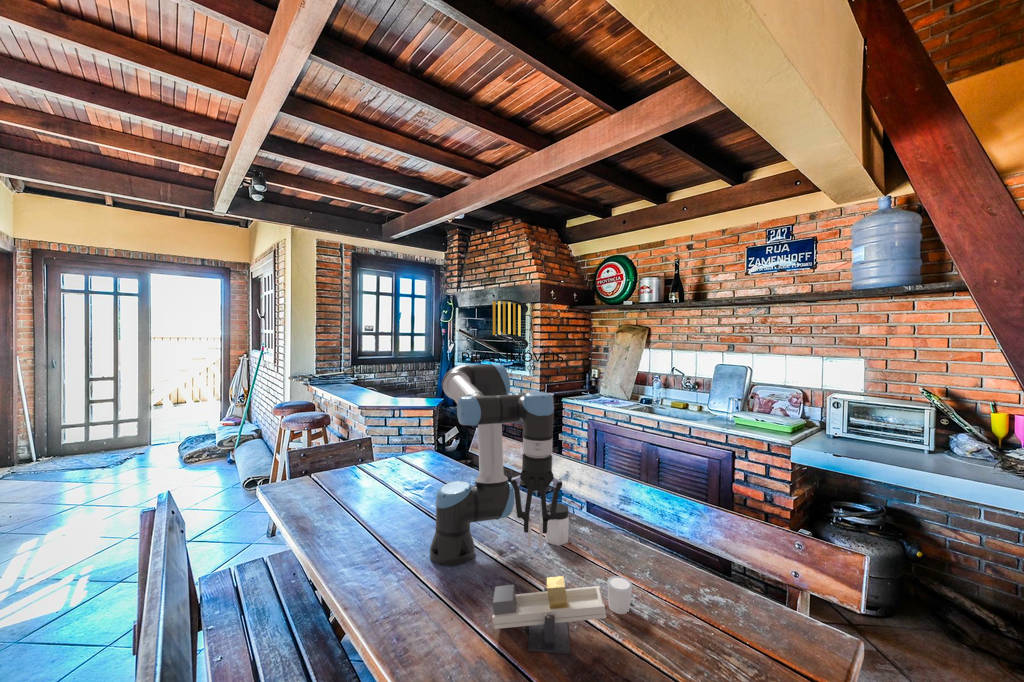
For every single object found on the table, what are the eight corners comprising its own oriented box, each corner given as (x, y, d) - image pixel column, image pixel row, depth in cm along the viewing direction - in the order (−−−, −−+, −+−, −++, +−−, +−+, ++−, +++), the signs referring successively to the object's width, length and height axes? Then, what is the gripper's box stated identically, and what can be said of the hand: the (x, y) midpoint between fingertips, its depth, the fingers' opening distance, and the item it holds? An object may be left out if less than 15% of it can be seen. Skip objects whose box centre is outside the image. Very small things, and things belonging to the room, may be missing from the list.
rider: (550, 613, 104) (546, 588, 103) (550, 601, 108) (546, 577, 108) (568, 612, 103) (564, 586, 103) (567, 600, 108) (563, 575, 108)
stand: (528, 650, 99) (529, 620, 99) (529, 610, 113) (530, 584, 113) (570, 653, 99) (570, 623, 99) (566, 613, 113) (566, 586, 113)
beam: (493, 630, 103) (490, 606, 102) (497, 606, 111) (494, 583, 111) (606, 619, 101) (603, 594, 100) (601, 595, 109) (598, 572, 109)
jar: (554, 548, 146) (555, 515, 145) (540, 538, 153) (540, 506, 152) (573, 541, 151) (574, 509, 150) (558, 531, 158) (559, 501, 157)
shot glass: (603, 599, 119) (604, 575, 119) (626, 598, 120) (627, 575, 119) (610, 616, 112) (611, 591, 112) (635, 615, 113) (636, 590, 112)
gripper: (506, 457, 101) (504, 550, 102) (568, 459, 101) (565, 554, 101) (508, 448, 109) (506, 535, 110) (566, 450, 108) (564, 538, 109)
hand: (535, 544), depth 106 cm, fingers open, 2 cm apart
